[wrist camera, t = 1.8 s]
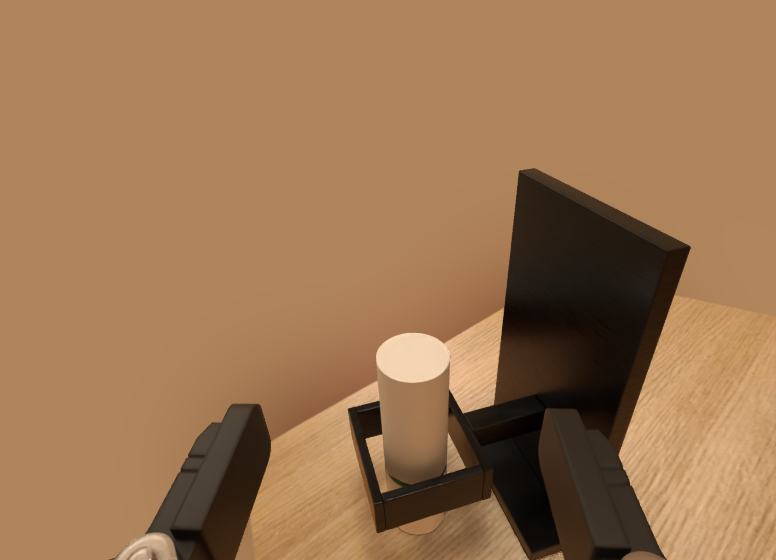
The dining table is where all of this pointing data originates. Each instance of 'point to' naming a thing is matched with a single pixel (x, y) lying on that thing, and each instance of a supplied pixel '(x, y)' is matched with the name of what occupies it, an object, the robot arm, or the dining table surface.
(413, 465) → the tube
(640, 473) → the dining table surface
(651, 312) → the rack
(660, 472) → the dining table surface
